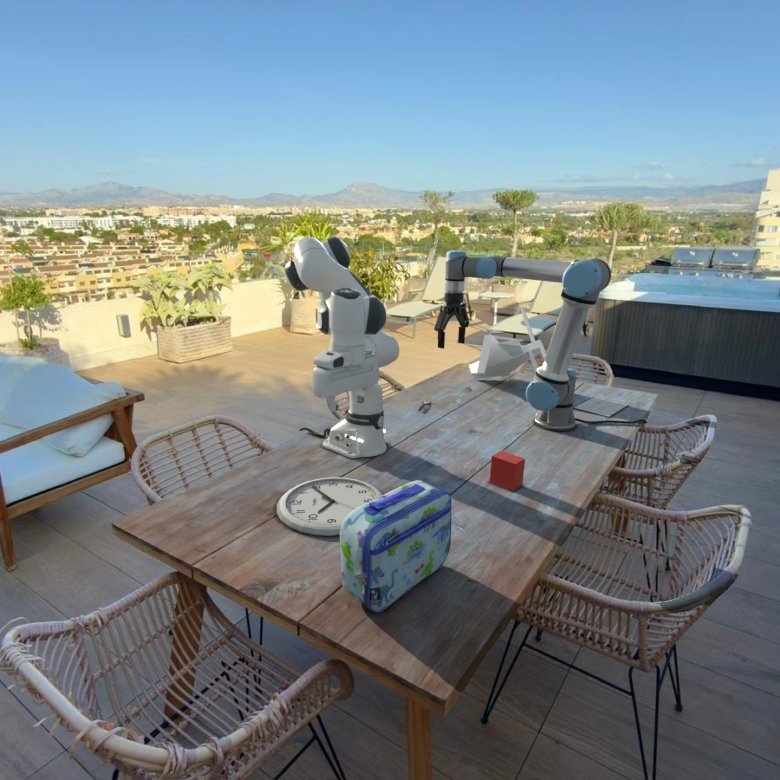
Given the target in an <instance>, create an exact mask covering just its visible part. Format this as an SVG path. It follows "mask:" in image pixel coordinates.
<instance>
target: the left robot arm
mask: <svg viewBox="0 0 780 780" xmlns="http://www.w3.org/2000/svg"><path fill="white" fill-rule="evenodd" d="M351 260H352V259H351V254H350V248H349V247H348V245H347V243H345V241H343V240H342V239H340V237H338V236H332V237H328V238H326V240H323V241H320V240H319V239H318V238H315V237H312V236H306V237H303V238H301V239H299V240H297V242H296V243H295V245H294V247H293V258H292V259H290V260H289V261H288V262H287V263H285V266H284V269H283V271H284V275H285V278H286V281H287V283H288V284H289V285H290V286H291V287H292V288H294V290H295V291H297V292H303V291H304V292H305V291H307V290H311V291H314V292H317V294H318V297H319V300H320V302H319V303H318V304H317V306H316V307H315V327H316V329H317V330H318V331H320V332H321V333H322V334H323V335H326V336H330V340H329V346H328V347H327V348H325V349H324V350H323V351H321V352H320V353H317V354H316V355H314V357H313V365H315V367H314V369H313V372H312V383H311V384H312V393H313V395H314V396H315V397H318V398H321V399H325V401H326V402H327V403H328V405H329V411H330V412H332V413H335V412H337V411H339V403H336V402H335V399H336V396H337V395H341V394H344V393H348V397H349V407H348V408H346V409H345V410H344V411H343V412H342V415H343V416H344V415H345V417H344V418H343V419H342V420H340V421H338V422H337V423H335V424H333V425H331V426H329V427H327V428H325V429H324V430H323V434H320V433H317V432H316V431H314V430H312V429H311V428H308V427H306V426H305V427H301V428H300V429H299V432H302V431H307V432H309V433H311V434H313V435H314V436H316V437H318V438H325V437H326V436H328V437H327V438H325V440H323V441H322V444H321V446H322V447H323V449H327V450H330V451H332V452H334V453H336V454H339V455H341V456H344V457H347V458H349V459H358V458H368V457H369V458H370V457H377V456H380V455H382V454H384V453H385V452H386V451H387V450H388V447H387V444H386V439H385V433H386V429H384V424H385V410H384V408H383V406H384V405H383V403H384V401H383V400H384V390H383V387H382V385H381V384H380V383H379V381H380V369H379V368H384V367H386V366H389V365H391V364H392V363H394V362H395V361H397V360H398V358H399V355H400V345H399V343H398V340H397V339H396V338H395V337H394V336H393V335H391V334H389V333H386V332H385V331H383V330H382V329H383V328H384V327H385V325H386V323H387V310H386V307H385V304H384V303H383V302H382V301H381V299H379V298H378V297H377V296H376V295H374V294H372V293H371V291H370V290H369V289H368V288H367V287H366V286H365V284H364V283H363V282H362V280H360V279H359V277H358V276H357V275H356V274H355V273H354V272H353V271H352V270H350V269H348V268H349V267H350V263H351Z"/></svg>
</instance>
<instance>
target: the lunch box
mask: <svg viewBox="0 0 780 780" xmlns="http://www.w3.org/2000/svg"><path fill="white" fill-rule="evenodd" d="M383 494H384V495H382V496H380V497H378V498H376V499H374V500H372V501H370V502H368V503H366V504H364V505H362V506H360V507H358V508H356V509H354V510H353V511H351V512H350V513H349V514H348V515H347V516H346V518H345V519H344V521H343V523H342V526H341V530H340V535H339V551H340V574H341V576H340V577H341V585H342V588H343V589H342V590H343V591H344V593H346V594H348V595H350V596H352V597H353V598H355V599H357V600H358V601H359V602H361V603H362V604H364V605H365V606H366V608H367V609H369V610H370V611H371V612H374V613H381V612H384V611H385V610H386V609H387V608H389V607H390V606H391V605H392V604H393V603H395V602H396V601H397V600H399V599H400V598H401V597H402V596H404V595H405V594H407V593H408V592H410V591H411V590H412V589H413V588H415V587H416V586H417V585H418V584H419V583H420V582H421V581H423V580H425V579H426V578H427V577H429V576H430V575H432V574H434V573H435V572H436V571H438V570H439V569H440V568H441V567H442V566H443V565H444V563H445V562H446V560H447V558H448V556H449V553H450V550H451V549H450V548H451V545H452V543H451V542H452V497H451V494H450V492H449V491H448V490H446V489H438V488H437V487H435V486H434V485H431V484H429V483H427V482H426V481H424V480H421V479H416V480H413V481H410V482H408V483H405V484H403V485H401V486H399V487H397V488H394V489H393V490H390V491H388V492H387V493H383Z"/></svg>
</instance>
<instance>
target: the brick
mask: <svg viewBox="0 0 780 780" xmlns="http://www.w3.org/2000/svg"><path fill="white" fill-rule="evenodd" d="M525 463H526V458H524V457H521V456H518V455H516V454H513V453H509V452H506V451H505V450H504V451H503V450H499V451H498V452H496V453H493V455H491V460H490V473H489V483H490V484H493V485H496V486H498V487H501V488H504V489H506V490H508V491H511V492H514V491H516V490H517V489H519V488H520V487H522V486H523V484H524V483H523V482H524V472H525V465H526V464H525Z"/></svg>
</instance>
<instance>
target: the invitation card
mask: <svg viewBox="0 0 780 780" xmlns="http://www.w3.org/2000/svg"><path fill="white" fill-rule="evenodd" d="M628 406H629V404H627V403H623V402H618V401H614V400H609V399H605V398H601V397H596V396H593V397H592V398H590V399H588V400H586V401H584V402H582V403H580V404H578V405H575V406H574V407H573V409H575V410H581V411H584V412H587V413H593V414H596V415H600V416H604V417H608V418H609V417H611V416H613V415H614V414H616V413H617V412H619V411H621V410H623V409H624V408H626V407H628Z"/></svg>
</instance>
